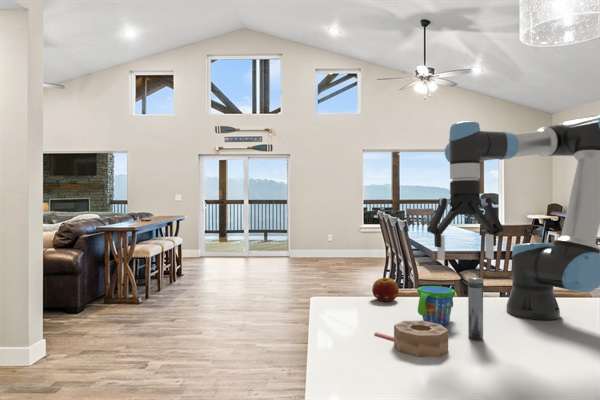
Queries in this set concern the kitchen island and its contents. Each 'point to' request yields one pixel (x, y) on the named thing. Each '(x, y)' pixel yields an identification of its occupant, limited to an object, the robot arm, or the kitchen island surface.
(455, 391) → the kitchen island surface
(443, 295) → the snack cup
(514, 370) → the kitchen island surface
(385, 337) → the pink stick
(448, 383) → the kitchen island surface
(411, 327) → the bead
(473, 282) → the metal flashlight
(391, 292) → the fruit
